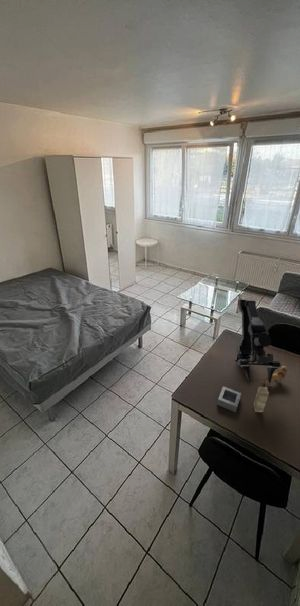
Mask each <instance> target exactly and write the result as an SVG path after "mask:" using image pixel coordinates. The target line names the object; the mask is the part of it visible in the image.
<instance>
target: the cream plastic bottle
mask: <svg viewBox="0 0 300 606" xmlns="http://www.w3.org/2000/svg"><path fill="white" fill-rule="evenodd" d="M269 396H270V392H269V390H268V387H267V386H258V388H257V391H256V395H255V397H254V402H253V409H254V412H255V413H263V412H264V411H265V410H264V409H265V406H266V404H267V400H268V398H269Z"/></svg>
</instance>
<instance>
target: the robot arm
mask: <svg viewBox="0 0 300 606" xmlns="http://www.w3.org/2000/svg"><path fill="white" fill-rule="evenodd" d="M256 305H257V301H256V300H254V299H252V298H243V297H241V298H240V299H238V300H237V306H238V310H239V311H240V314H241V335H242V336H241V339H240V341H239V344H238V345H236V353H237V354H236V355H237V356H236V358H235V359H234V360H235V361H236V363H237V366H239V367H240V368H242V370H243V372H244V373H245V375H246V378H247V381H248V382H251V372H250V366H267V368H266V369H267V375H268V379H267V381H268V384H269V383H270V382H271V378H272V375H273V374H274V373H275V371H276V370H279V367H281V366H282V364H281V362H280V361H279V360H274V354H273V353H270V352H269V353H267V354H266V350H265V348H267V347H269V346H270V345H271V344H272V339H271V337H270V336H269V334H270V333H269V331H268V329H267V327H266V325H265V323H264V322H263V320H261V319H260V317H259V313H258V312H259V311H258V309H257V306H256Z"/></svg>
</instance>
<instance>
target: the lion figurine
mask: <svg viewBox="0 0 300 606" xmlns="http://www.w3.org/2000/svg"><path fill="white" fill-rule="evenodd" d="M277 370H278V371H277V372H274V373H273V375H272V378H271V382H270V383H269V382H268V385H269V386H270V387H273V384H272V382H274V381H278V383H279V384H282V380H283V378H285V377H286V376H287V373H288V368H287V366H285V365H281V367H278V369H277ZM267 381H268V374H267V375H266V376H265V377H264V379H263V380H262V384H263V385H262V387H265V384H266V382H267Z"/></svg>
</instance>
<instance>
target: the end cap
mask: <svg viewBox="0 0 300 606" xmlns="http://www.w3.org/2000/svg"><path fill="white" fill-rule="evenodd" d="M241 395H242V392H240V391H237V390H234V389H232V388H228V387H226V386H222V388H221V391H220V393H219V396H218V398H217V403H216V405H217V406H218V407H222V408H224V409H225V410H229V411H231V412H234V413H236V412H237V409H238V406H239V402H240V400H241Z"/></svg>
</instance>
